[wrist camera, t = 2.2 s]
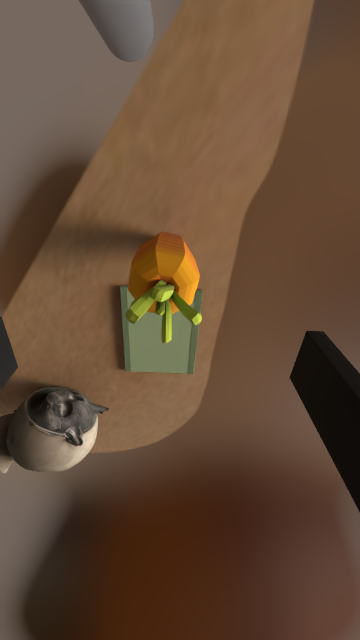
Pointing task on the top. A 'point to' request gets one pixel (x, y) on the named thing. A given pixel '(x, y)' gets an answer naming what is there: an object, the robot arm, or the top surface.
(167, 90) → the top surface
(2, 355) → the robot arm
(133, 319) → the carrot
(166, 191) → the top surface
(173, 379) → the top surface
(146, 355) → the tray
